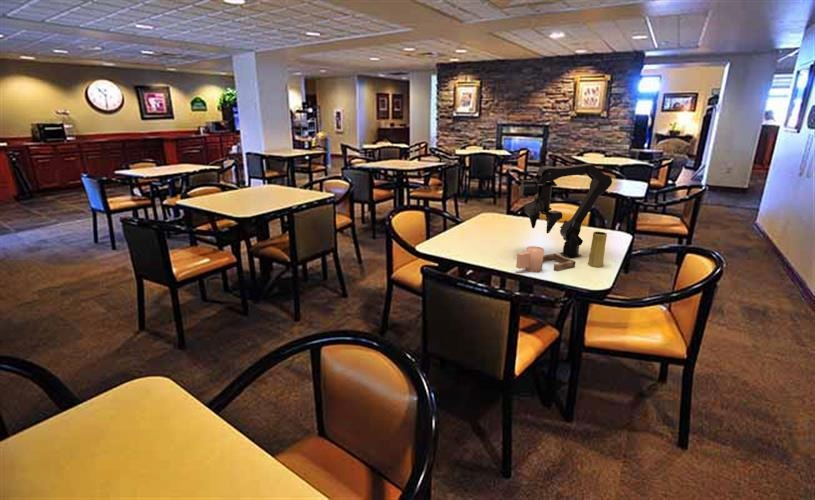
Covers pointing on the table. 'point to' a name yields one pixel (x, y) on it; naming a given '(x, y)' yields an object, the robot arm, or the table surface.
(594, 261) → the vase
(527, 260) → the pink block
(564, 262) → the walnut holder
